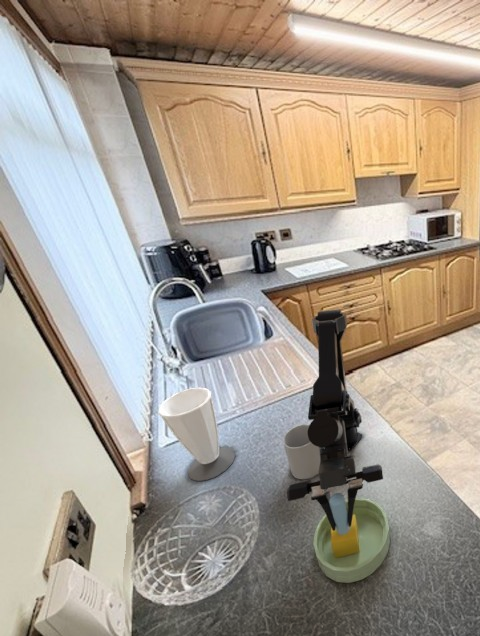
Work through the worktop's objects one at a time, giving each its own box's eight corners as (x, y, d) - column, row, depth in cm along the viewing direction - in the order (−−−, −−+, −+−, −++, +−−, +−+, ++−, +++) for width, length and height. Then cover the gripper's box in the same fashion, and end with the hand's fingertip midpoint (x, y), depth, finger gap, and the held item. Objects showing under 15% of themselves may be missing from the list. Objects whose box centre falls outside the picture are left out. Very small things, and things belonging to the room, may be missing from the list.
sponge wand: (334, 534, 75) (323, 490, 69) (358, 528, 76) (349, 485, 70) (335, 558, 70) (323, 513, 64) (359, 551, 71) (350, 507, 65)
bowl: (346, 501, 83) (343, 488, 81) (402, 525, 77) (401, 512, 75) (302, 564, 71) (297, 551, 69) (365, 598, 65) (362, 585, 63)
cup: (217, 442, 102) (193, 382, 93) (244, 454, 97) (221, 393, 88) (178, 472, 93) (146, 409, 83) (205, 487, 88) (175, 422, 79)
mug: (304, 485, 87) (295, 454, 83) (284, 470, 92) (275, 439, 87) (341, 454, 96) (334, 424, 91) (321, 441, 101) (314, 412, 96)
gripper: (277, 457, 64) (283, 552, 60) (377, 436, 68) (390, 525, 63) (290, 455, 75) (296, 536, 70) (376, 437, 78) (388, 513, 74)
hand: (342, 528), depth 69 cm, fingers closed on sponge wand, 3 cm apart
